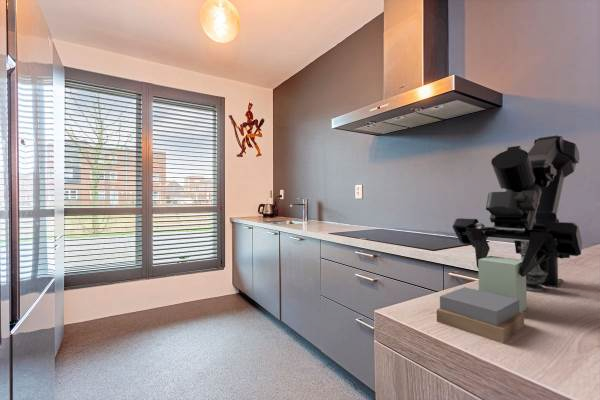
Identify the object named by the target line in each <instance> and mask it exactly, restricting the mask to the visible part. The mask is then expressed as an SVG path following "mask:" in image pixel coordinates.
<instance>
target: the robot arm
mask: <svg viewBox="0 0 600 400" xmlns="http://www.w3.org/2000/svg"><path fill="white" fill-rule="evenodd" d="M579 151H580V150H579V149H578V146H577V144H576V143H575V142H573V141H569V140H567V139H564V138H563V136H562V135H559V134H558V135H557V134H556V135H549V136H544V137H542V136H541V137H538V138H536V139H534V142H533V146H531V148H530V150H529V151H528V152H527V151H526V150H525V149H522V147H521V145H516V146H508V147H507V149H506V150H505V151H502V152H499V153H498V154H496V155H495V156H494V157H492V159H491V165H492V168H493V172H494V174H495V176H496V180H497V182H498V184H499V187H500V189H503V190H505V191H491V192H488V195H487V198H486V199H487V200H486V205H485V210H486V211H488V212H489V214H490V216H489V221H490V222H491V223H493V224H494V225H485V224H483V223H481V222H479V220H478V219H477V218H464V217H463V218H461V217H460V218H456V219H455V220H454V222H453V224H452V229H453V232H455V235H456V236H457V238H458V240H459V243H461V244H463V245H469V246H472V248H474V250H475V251H474V252H475V261H476V263H475V264H476V268H477V269H478V260H479V259H482V258H485V257H488V256H489V255H488V254H489V252H490V250H491V249H490V248H491V247H490V246H489V244H488V241H487V240H488V238H497V239H498V240H504V241H507V240H508V241H514V247H515V254H519V253H520V252H521V241H528V242H529V245H528V248H527V251H526V253H525V256H524V259H523V261H522V264H521V269H520V275H521V277H524V276H526V275H527V274H528V273H529V272H530V271H532V270H533V269H534V268H535V267H536V266H538V265H539V266H540V269H541V270H543V271H545V272H547V273H548V275H546V280H545V282H543V283H542V284H541V285H542V286H544V285H545V286H549V287H558V286H560V285H561V284H562V283H563V282H564V279H562V278H559V259H562V260H563V259H570V257H571V256H572V257H578V256H581V255H582V249H583V240H582V236H581V231H580V227H579V225H578V224H576V223H575V222H569V221H568V222H566V221H560V220H559V218H558V216H557V215H558V214H557V213H558V209H559V204H560V199H561V195H562V189H563V185H564V181H565V180H564V179H565V178H566V177H568V176H569V175H571V174H573V173H575V169H576V165H577V164H579V163H580V152H579ZM519 255H520V254H519Z"/></svg>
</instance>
